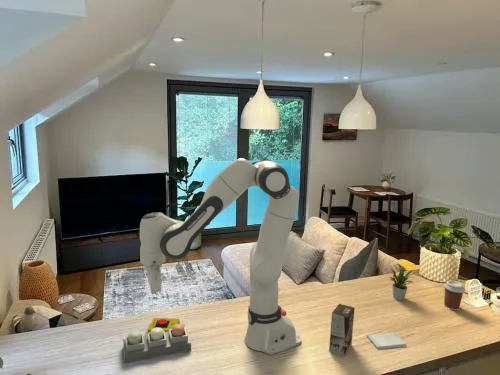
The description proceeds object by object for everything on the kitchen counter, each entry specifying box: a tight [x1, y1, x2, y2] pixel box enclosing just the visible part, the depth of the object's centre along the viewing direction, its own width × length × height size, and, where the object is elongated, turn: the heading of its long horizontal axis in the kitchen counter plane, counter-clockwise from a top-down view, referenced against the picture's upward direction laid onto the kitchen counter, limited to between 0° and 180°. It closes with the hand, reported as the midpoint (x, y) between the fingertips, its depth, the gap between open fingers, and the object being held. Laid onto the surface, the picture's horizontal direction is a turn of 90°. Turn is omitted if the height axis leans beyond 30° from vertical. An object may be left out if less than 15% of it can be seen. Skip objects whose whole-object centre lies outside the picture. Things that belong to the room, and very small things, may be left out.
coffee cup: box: [443, 280, 466, 311], centre depth 175 cm, size 9×9×12 cm
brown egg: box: [172, 323, 185, 337], centre depth 141 cm, size 4×4×3 cm
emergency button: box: [143, 317, 186, 336], centre depth 151 cm, size 9×4×15 cm
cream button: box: [151, 328, 163, 341], centre depth 139 cm, size 4×4×3 cm
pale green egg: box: [127, 330, 142, 345], centre depth 136 cm, size 4×4×3 cm
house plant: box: [389, 266, 415, 301], centre depth 182 cm, size 14×14×16 cm
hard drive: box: [366, 332, 407, 350], centre depth 147 cm, size 2×8×12 cm
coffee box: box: [328, 303, 355, 357], centre depth 141 cm, size 9×6×16 cm
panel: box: [122, 326, 192, 364], centre depth 139 cm, size 24×10×5 cm, turn 110°
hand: (153, 292), depth 135 cm, fingers closed
